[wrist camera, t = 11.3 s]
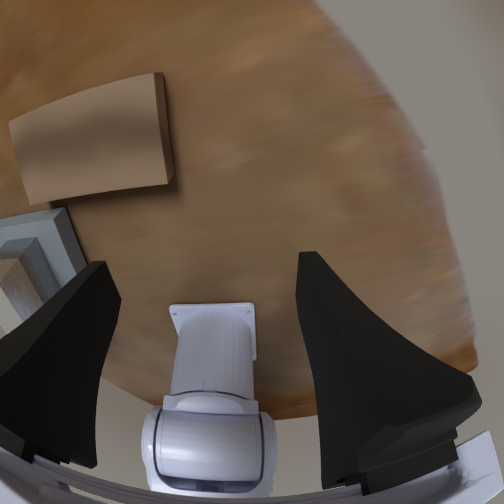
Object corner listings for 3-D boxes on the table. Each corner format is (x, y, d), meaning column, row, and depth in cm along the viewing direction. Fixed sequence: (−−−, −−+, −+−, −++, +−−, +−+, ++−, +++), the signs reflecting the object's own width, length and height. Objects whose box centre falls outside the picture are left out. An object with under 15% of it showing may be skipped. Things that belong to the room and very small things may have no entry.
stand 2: (174, 172, 18) (167, 183, 17) (43, 193, 18) (30, 205, 17) (162, 72, 14) (153, 72, 12) (24, 115, 14) (8, 121, 12)
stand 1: (108, 310, 26) (103, 324, 24) (42, 306, 26) (36, 319, 24) (65, 206, 19) (53, 218, 17) (-2, 219, 19) (-13, 230, 17)
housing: (36, 236, 18) (-2, 284, 13) (75, 312, 23) (53, 361, 19) (7, 240, 18) (-28, 283, 13) (44, 310, 23) (23, 354, 19)
